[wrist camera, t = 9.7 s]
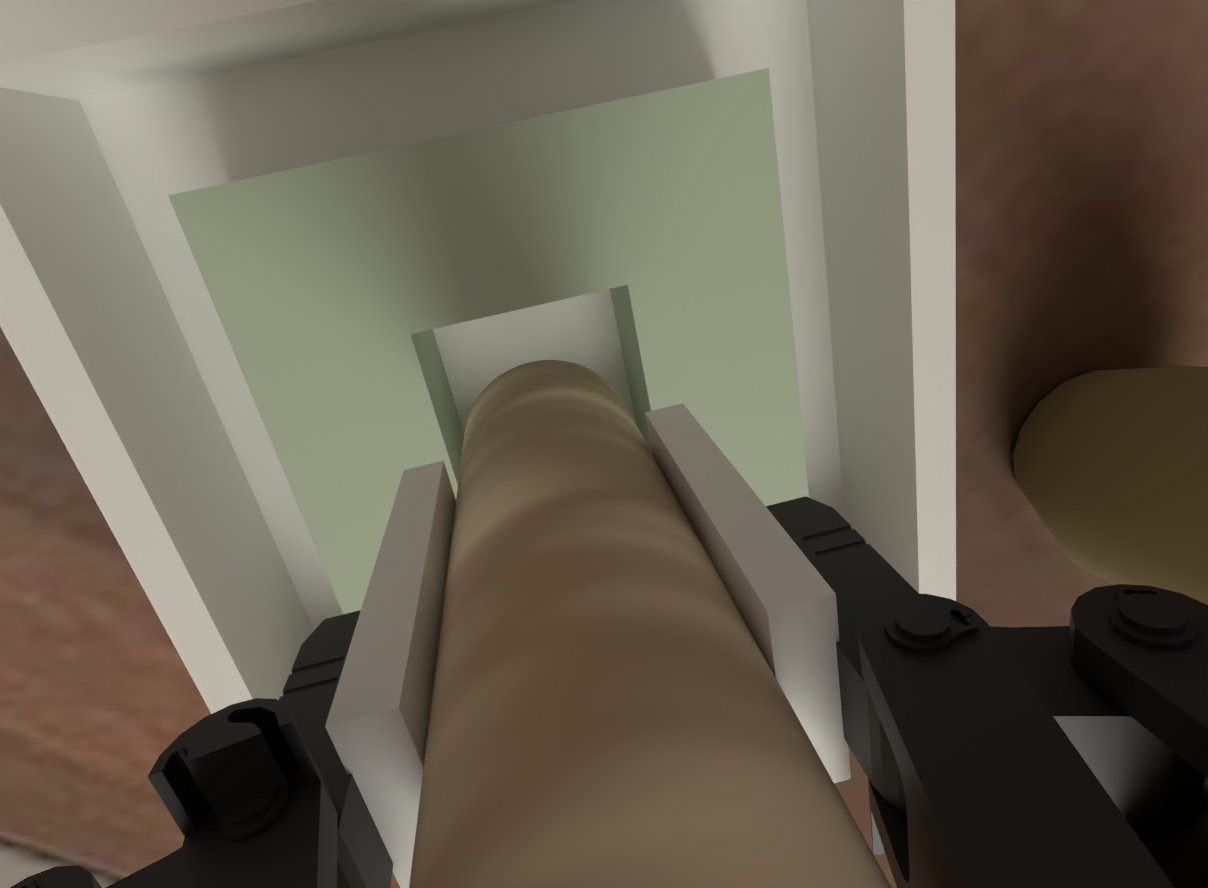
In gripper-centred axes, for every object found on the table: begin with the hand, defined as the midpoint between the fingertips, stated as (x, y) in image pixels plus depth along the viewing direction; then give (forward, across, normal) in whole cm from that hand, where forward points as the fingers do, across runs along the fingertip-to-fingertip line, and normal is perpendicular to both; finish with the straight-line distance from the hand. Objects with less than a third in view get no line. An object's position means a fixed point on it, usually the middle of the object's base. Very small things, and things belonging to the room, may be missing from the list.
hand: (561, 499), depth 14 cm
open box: (+10, 0, 0) cm, 10 cm away
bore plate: (+10, 0, 0) cm, 10 cm away
